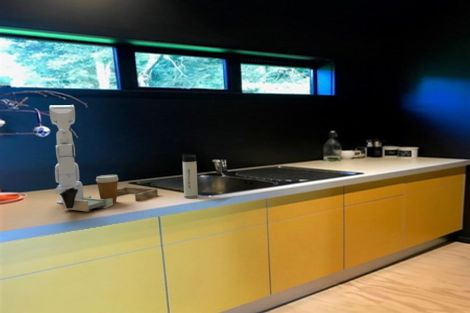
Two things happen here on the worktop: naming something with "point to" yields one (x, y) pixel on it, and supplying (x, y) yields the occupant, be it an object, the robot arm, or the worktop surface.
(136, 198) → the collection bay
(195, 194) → the travel mug
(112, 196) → the disposable coffee cup
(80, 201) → the beige grey flat-sided piece
